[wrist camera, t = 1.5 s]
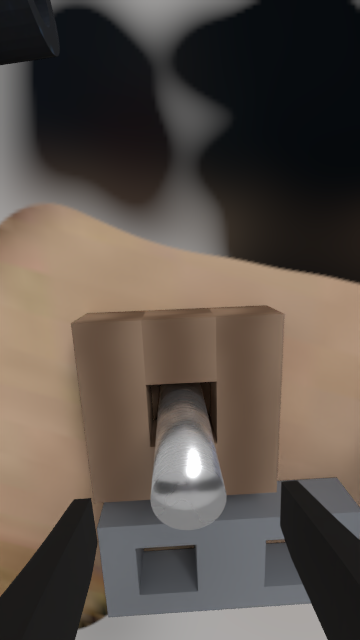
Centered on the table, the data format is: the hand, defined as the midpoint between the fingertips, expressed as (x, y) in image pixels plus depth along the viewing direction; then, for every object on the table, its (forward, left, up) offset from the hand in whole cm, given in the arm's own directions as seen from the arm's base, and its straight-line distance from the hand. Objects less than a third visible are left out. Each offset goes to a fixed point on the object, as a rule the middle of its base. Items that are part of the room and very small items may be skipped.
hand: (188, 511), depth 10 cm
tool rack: (-3, +12, -10) cm, 16 cm away
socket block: (0, 0, -10) cm, 10 cm away
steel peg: (0, 0, -10) cm, 10 cm away
